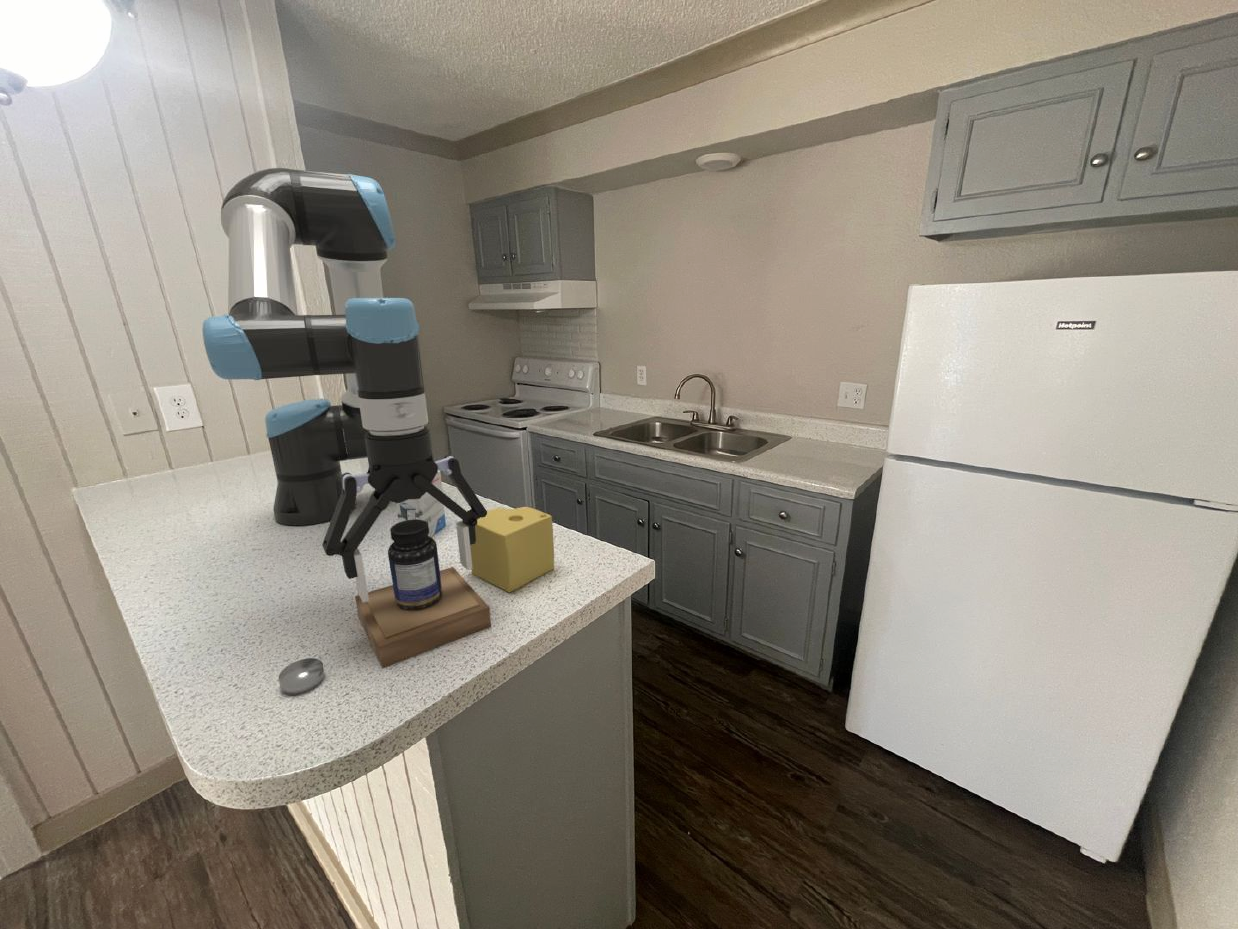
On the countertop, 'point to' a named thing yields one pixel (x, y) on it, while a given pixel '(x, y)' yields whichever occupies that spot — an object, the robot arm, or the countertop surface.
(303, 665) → the grey metal puck
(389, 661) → the walnut stand
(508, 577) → the cheese
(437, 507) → the ink box
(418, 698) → the countertop surface
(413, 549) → the pill bottle
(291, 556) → the countertop surface
